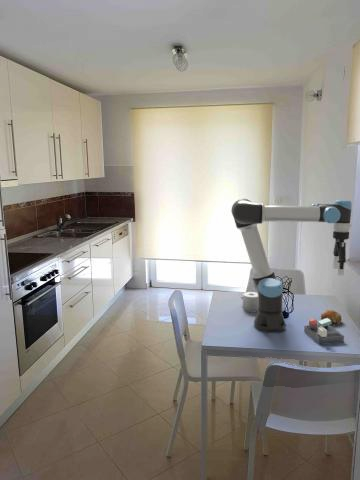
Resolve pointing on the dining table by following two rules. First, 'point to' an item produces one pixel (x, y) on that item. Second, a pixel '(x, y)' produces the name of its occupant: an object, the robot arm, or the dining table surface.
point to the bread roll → (332, 316)
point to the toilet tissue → (250, 301)
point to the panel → (332, 337)
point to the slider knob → (322, 332)
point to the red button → (312, 322)
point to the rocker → (324, 322)
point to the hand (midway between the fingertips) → (338, 271)
